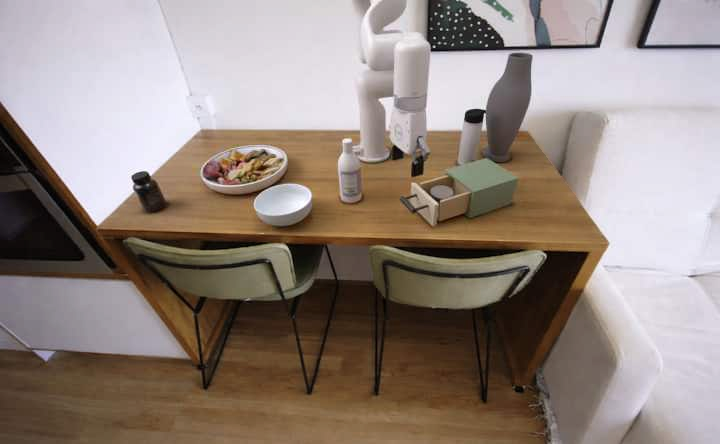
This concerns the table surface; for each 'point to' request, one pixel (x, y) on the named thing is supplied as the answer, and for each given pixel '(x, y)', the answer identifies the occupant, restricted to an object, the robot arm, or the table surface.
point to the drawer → (447, 206)
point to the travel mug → (470, 136)
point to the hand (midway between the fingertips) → (406, 167)
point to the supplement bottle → (148, 192)
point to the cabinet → (485, 185)
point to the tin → (441, 193)
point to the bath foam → (349, 173)
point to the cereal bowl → (283, 204)
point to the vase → (508, 106)
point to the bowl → (244, 169)
